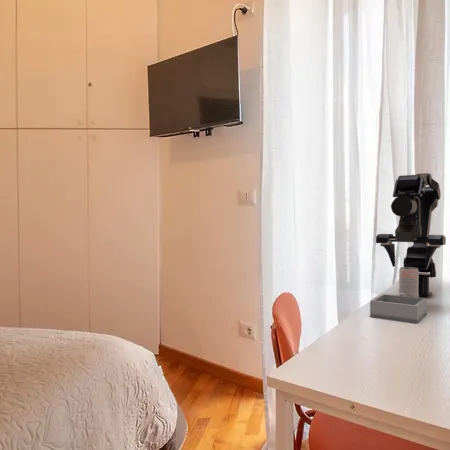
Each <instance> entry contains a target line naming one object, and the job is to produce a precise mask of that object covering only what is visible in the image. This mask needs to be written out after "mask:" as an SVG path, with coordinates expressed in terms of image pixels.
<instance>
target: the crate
mask: <svg viewBox="0 0 450 450" xmlns="http://www.w3.org/2000/svg"><path fill="white" fill-rule="evenodd" d="M427 299H428V298H427V297H426V298H425V297H419V298H418V297H409V296H399V294H388V293H381V294H380V295H377V296H376V297H374V298H372V299H371V300H370V303H369V305H370V306H369V317H371V318H377V319H381V320H382V319H383V320H390V321H397V322H404V323H410V324H411V323H412V324H419V322H421V321H422V319H423V318H425V317H426V315H427V313H428V312H427V306H428V305H427V304H428V303H427Z"/></svg>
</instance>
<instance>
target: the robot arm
mask: <svg viewBox="0 0 450 450" xmlns="http://www.w3.org/2000/svg"><path fill="white" fill-rule="evenodd" d="M393 187H394V188H393V192H392V197H393V198H394V199H393V200H392V202H391V204H390V208H391V212H392V213H393V214H394V215H395V216H397V217H399V219H398V226H396V229H395V230H394V233H378V234H377V235H376V236H375V244H380V245H379V246H380V247H383V248H384V249H385V251H386V252H387V254H388V257H389V260H390V263H391V266H392V267H396V249H395V248H396V247H395V243H412V245H411V246H408V247H407V248H406V255H405V257H404V259H403V267H414V268H418V271H419V297H426V298H427V297H430V296H431V295H432V294H433V292H432V291H430V279H433V278H436V277H437V271H436V263H435V261H434V259H433V256H434V255H435V252H436V250H437V249H439V248H441V246H445V245H446V242H447V238H446V236H445V235H444V234H430V231H431V230H430V228H431V221H432V212H433V211H434V210H436V208H437V207H438V205H439V200H441V188H440V184H439V182H437V181H436V180H435V179H433V177H432V173H429V172H425V173H416V174H405V175H404V174H403V175H398V177H397V179H396V180H395V183H394V186H393Z"/></svg>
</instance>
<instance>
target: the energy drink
mask: <svg viewBox="0 0 450 450" xmlns="http://www.w3.org/2000/svg"><path fill="white" fill-rule="evenodd" d="M419 273H420V272H419V271H418V268H414V267H404V266H401V267H399V270H398V274H399V275H398V277H399V278H398V279H399V280H398V283H399V284H398V285H399V286H398V287H399V289H398V290H399V291H398V295H399V296H409V297H418V298H420V296H419Z"/></svg>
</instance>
